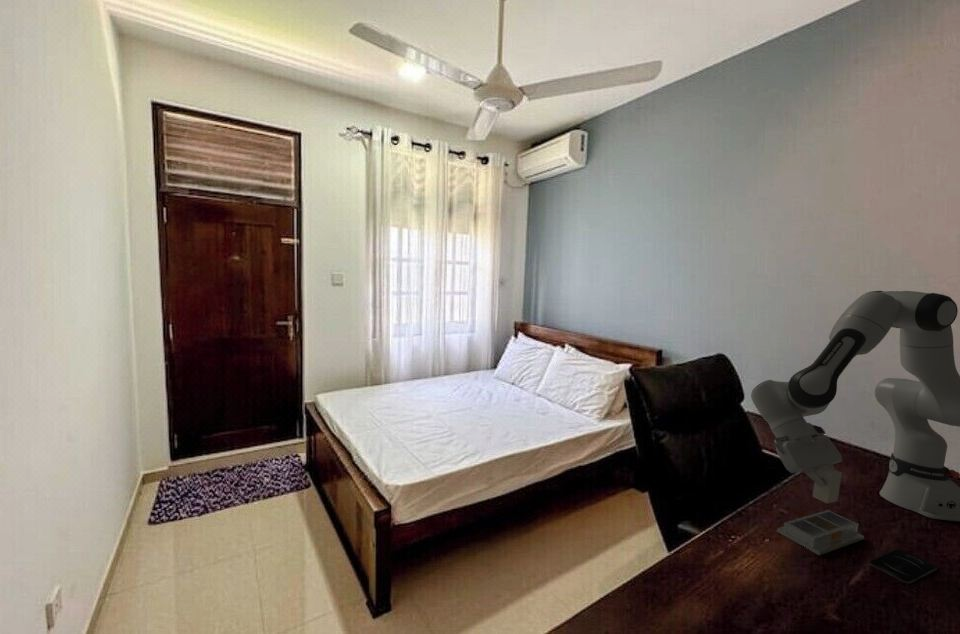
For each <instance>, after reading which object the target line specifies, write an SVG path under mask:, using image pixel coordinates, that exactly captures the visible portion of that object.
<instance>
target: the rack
mask: <svg viewBox="0 0 960 634" xmlns="http://www.w3.org/2000/svg"><path fill="white" fill-rule="evenodd" d="M858 530H859V523H857V522H855V521H854V520H850V519H848V518H846V517H844V516H842V515H839V514H838V513H835V512H834V511H832V510H830V509H826V510H823V511H820V512H815V513H812V514H810V515H809V514H808V515H805V516H802V517H799V518H798V517H797V518H796V519H792V520H788V521H785V522H784V523H783V526H781V527H777V528H776V533H778V534H780V535H782V536H784V537H785V538H787V539H789V540H791V541H793V542H794V543H796V544H798V545H800V546H801V545H802V547H803V546H804V547H803V548H805V547H806V548H805V549H807V550H808V549H809V550H808V551H811V552H812V553H814V554H816V555H817V556H821V555H824V554H828V553H830V552H833V551H836V550H838V549H841V548H843V547H846V546H849V545H851V544H854V543H857V542H860V541H863V540H864V539H865V535H863V534H861V533H859V532H858Z"/></svg>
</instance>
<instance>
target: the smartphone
mask: <svg viewBox="0 0 960 634" xmlns="http://www.w3.org/2000/svg"><path fill="white" fill-rule="evenodd" d="M869 565H870V566H872V567H873V568H876V569H877V570H879V571H881V572H883V573H885V574H887V575H889V576H890V577H892V578H894V579H895V580H898V581H900V582H902V583H904V584H909V585H910V584H912V583H914V582H916V581H918V580H921V579H922V578H924V577H926V576H928V575H930V574H932V573H934V572H936V571H937V565H935V564H933V563H931V562H930V561H927V560H925V559H923V558H921V557H920V556H916V555H914V554H912V553H911V552H908V551H906V550H904V549H900V548H895V549H893V550H891V551H889V552H887V553H884V554H882V555H880V556H877V557H875V558H873V559H870V560H869Z"/></svg>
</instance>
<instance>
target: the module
mask: <svg viewBox="0 0 960 634" xmlns="http://www.w3.org/2000/svg"><path fill="white" fill-rule="evenodd" d="M815 470H816V473H817V474H818V475H819V476H820V477H821V478H824V479H825V481H826V482H827V485H825V486H822V487H818V486H817V484H816V483H815V482H814V483H813V490H812V495H811V496H812V497H813V498H815V499H817V500H819V501H820V502H823V503H826V504H831V503H834V502H838V499H839V493H840V488H841V487H840V486H841V481H842V475H843V471H839V470H838V469H836V468H835V469H832V468H830V467H827V466H825V467H819V468H815Z"/></svg>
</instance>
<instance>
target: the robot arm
mask: <svg viewBox="0 0 960 634" xmlns="http://www.w3.org/2000/svg"><path fill="white" fill-rule="evenodd" d="M958 311H959V310H958V306H957V303H956V302H955V300H954V299H953V298H951V297H950V296H949V295H945V294H942V293H935V292H929V293H928V292H924V291H922V292H921V291H912V290H902V291H900V290H899V291H898V290H889V291H888V290H887V291H886V290H885V291H883V290H872V291H869V292H868V291H867V292H865V293H864V294H862V295H860V296H859V297H857V299H856V300H854V301H853V302H852V303H851V304H850V305H849V306H848V307H847V308H846V309H845V310H844V312H843V313H841V315H840V316H839V318H838V319H837V320H836V322H835V323H834V325H833V327H832V329H831V332H830V334H829V337H828V338H829V341H828V343H827V345H826V346H825V348H824V349H823V350H822V351H821V353H820V354H819V355H818V356H817V358H816V359H815V360H814V362H813V363H812V364H810V365H809V366H807V367H805V368H803V369H800V370H799V371H797V372H795V373H794V374H793V375H792V376H791V377H790V378H789V381H779V380H773V379H768V380H764V381H762V382H760V383H758V385H756V386H755V387H754V388H753V389H752V390H751V393H750V398H751V401H752V402H753V403H752V404H754V406H755V408H756V410H757V411H758V413H759V414H760V416H761V417H762V418H763V419H764V420H765V421H766V422H767V423H768V425H769V427H770V430H771V432H772V433H773V435H774V436H775V439H774V443H773V445H774V447H775V450H776V453H777V455H778V457H779V459H780V461H781V462H782V464H783V466H784V467H785V469H786V470H787V472H789V473H790V474H795V473H800V472H801V473H802V472H804V473H805V474H806V476H807V477H808V478H809V479H811V480H812V481H814V483H816V484H817V486H818V487H822V486H825V485H827V482H826V481H825V479H824V478H821V477H820V476H819V475H818V474H817V473H816V469H817V468H821V467H825V466H827V467H830V468H832V469H835V470H836V468H835V466H834V465H835V464H838V463H841V462H843V458H842V454H841V453H840V451H839V450H838V449H837V446H836V445H834V443H833V442H832V440H831V439H830V438H829V437H828V436H827V435H826V431H825V429H824V428H823V427H821V426H819V425H815V424H812V423H810V422H807V421H806V418H805V417H810V416H815V415H818V414H821V413H823V412H824V411H826V409H827V408H828V407H829V405H830V404H831V402H832V401H833V400H834V399H835V397H836V395H837V391H838V381H839V378H840V376H841V374H842V373H843V372H844V371H845V369H846V368H847V367H848V365H849V364H850V363H851V362H852V360H853V359H854V358H855V357H856V356H859V355H860V356H861V355H862V356H863V355H867V354H869V352H871V351H872V350H873V349H876V347H877V346H878V345H879V344H880V343H881V342H882V341H883V340H884V338H886V335H888V333H889V332H890V330H891V328H894V329H899V355H900V364H901V366H902V368H903V369H904V371H906V372H908V373H909V374H911V375H913V376H914V378H916V379H917V380H913V379H909V378H901V377H900V378H898V377H894V378H893V377H885V378H884V379H882V380H880V381H879V382H878V383H877V384H876V386H875V388H874V397H875V399H876V401H877V402H878V403H879V404H880V405H881V406H882V407H883V409H885V411H887V413H888V415H889V416H890V418H891V419H890V420H891V421H892V422H893V423H892V424H893V426H894V433H895V435H894V446H893V453H891V454H890V458H889V465H888V475H887V477H886V480H885V482H884V484H883V486H882V487H881V490H879V495H880V497H882V498H883V499H885V500H886V501H888V502H890V503H892V504H894V505H896V506H899V507H901V508H903V509H907V510H910V511H912V512H915V513H918V514H920V515H921V516H924V517H927V518H930V519H933V520H944V521H951V522H952V521H953V522H960V486H958V485H957V484H956V483H955V482H953V481H952V480H951V479H950V477H952V478H954V479H959V478H960V472H958V471H956V470H954V469H950V468H948V467H947V466H945V463H946V462H945V461H946V456H947V450H948V444H947V443H948V442H947V440H946V439H945V438H944V437H943V436H942V435H941V434H939V433H938V432H937V431H935V430H934V429H933V427H932V426H931V425H930V423H929V421H933V422H937V423H940V424H944V425H946V426H947V425H948V426H951V427H959V428H960V374H959V372H958V370H957V366H956V363H955V362H956V361H955V352H954V350H955V349H954V335H953V328H952V324H953V323H954V322H955V321H956V319H957V316H958Z"/></svg>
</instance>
